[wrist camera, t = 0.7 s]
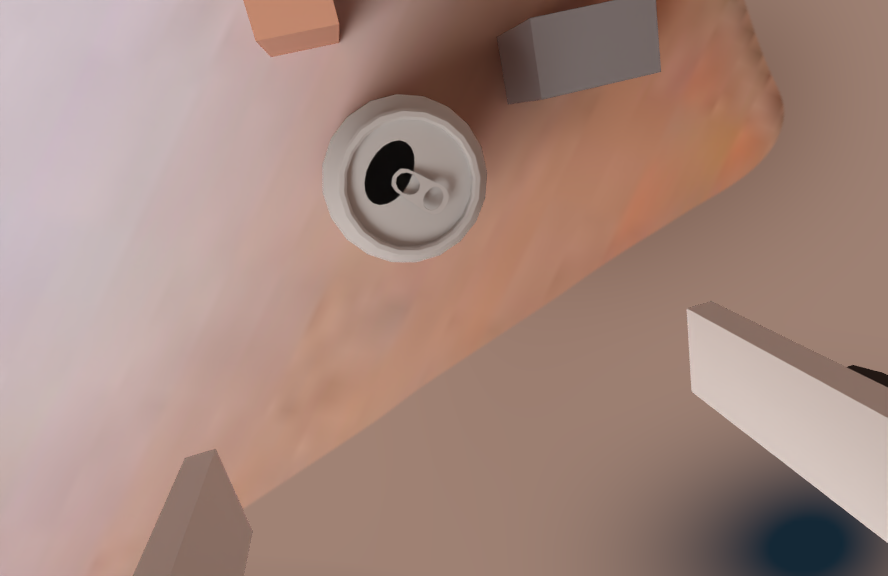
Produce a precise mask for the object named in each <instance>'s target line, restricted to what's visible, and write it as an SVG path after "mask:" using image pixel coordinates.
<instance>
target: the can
mask: <svg viewBox="0 0 888 576" xmlns="http://www.w3.org/2000/svg"><path fill="white" fill-rule="evenodd" d="M486 180H487V170H486V166H485V161H484V157H483V152H482V148H481V146H480V144H479V142H478V141H477V139H476V137H475V135H474V134H473V132H472V130H471V129H470V127H469V125H468V124H467V123H466V122H465V121H464V120H462V119H461V118H460V117H459V116H458V115H457V114H456V113H455V112H454V111H452V110H451V109H450V108H449V107H448V106H445V105H443V104H441V103H438V102H436V101H434V100H431V99H429V98H427V97H424V96H414V95H401V94H395V95H392V96H388V97H384V98H380V99H377V100H373V101H370V102H368V103H367V104H365V105H364V106H363V107H361V108H360V109H358V110H357V111H355V112H354V113H352V114H351V115H349V116H348V117H347V118H346V119H345V120H344V122H343V123H342V124H341V126H340V127H339V128H338V130H337V131H336V132H335V134H334V135H333V137H332V138H331V140H330V144H329V147H328V150H327V153H326V156H325V159H324V162H323V195H324V198H325V201H326V204H327V207H328V210H329V213H330V216H331V218H332V220H333V221H334V222H335V224H336V225H337V226H338V228H339V229H340V230H341V232H342V233H343V235H344V236H345V237H346V239H347V240H349V241H350V242H352V243H353V244H354V245H356V246H357V247H358V248H360V249H361V250H363V251H364V252H365V253H367V254H369V255H372V256H375V257H378V258H381V259H384V260H387V261H390V262H419V261H422V260H425V259H429V258H432V257H435V256H439V255H441V254H442V253H444V252H445V251H447V250H448V249H450V248H451V247H452V246H454V245H455V244H457V243H458V242H460V241H461V240H462V238H463V237H464V236H465V235H466V233H467V232H468V231H469V230H470V228H471V227H472V226H473V225H474V223H475V222H476V220H477V217H478V215H479V212H480V210H481V207H482V205H483V202H484V200H485V193H486Z"/></svg>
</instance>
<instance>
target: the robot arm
mask: <svg viewBox="0 0 888 576" xmlns="http://www.w3.org/2000/svg"><path fill="white" fill-rule="evenodd" d="M687 321H688V338H689V355H690V371H691V388H692V392H693V393H694V394H696V395H697V396H698V397H699V398H701V399H702V400H704V401H705V402H706V403H707V404H708V405H710V406H711V407H712V408H714V409H715V410H716V411H718V412H719V413H720V414H722V415H723V416H724V417H725V418H727V419H728V420H729V421H730V422H732V423H733V424H734V425H736V426H737V427H738V428H740V429H741V430H742V431H743V432H745V433H746V434H747V435H749V436H750V437H751V438H753V439H754V440H755V441H756V442H758V443H759V444H760V445H762V446H763V447H764V448H765V449H767V450H768V451H769V452H771V453H772V454H773V455H775V456H776V457H777V458H778V459H780V460H781V461H782V462H784V463H785V464H786V465H788V466H789V467H790V468H791V469H793V470H794V471H795V472H797V473H798V474H799V475H800V476H802V477H803V478H804V479H806V480H807V481H808V482H810V483H811V484H812V485H813V486H815V487H816V488H817V489H819V490H820V491H821V492H823V493H824V494H825V495H826V496H828V497H829V498H830V499H832V500H833V501H834V502H835V503H837V504H838V505H839V506H841V507H842V508H843V509H845V510H846V511H847V512H848V513H850V514H851V515H852V516H854V517H855V518H856V519H858V520H859V521H860V522H862V523H863V524H864V525H865V526H867V527H868V528H869V529H870V530H872V531H873V532H875V533H876V534H877V535H878V536H880V537H881V538H882V539H884V540H885V541H886V542H887V543H888V375H886V374H884V373H882V372H878V371H873V370H870V369H866V368H862V367H858V366H854V365H852V366H848V367H845V366H843V365H841V364H839V363H837V362H835V361H833V360H831V359H829V358H826V357H824V356H822V355H820V354H818V353H816V352H814V351H812V350H810V349H808V348H806V347H804V346H802V345H800V344H798V343H796V342H793V341H792V340H790V339H788V338H785V337H783V336H782V335H780V334H777V333H775V332H773V331H771V330H769V329H767V328H765V327H763V326H761V325H759V324H757V323H755V322H753V321H751V320H749V319H747V318H745V317H742V316H741V315H739V314H737V313H735V312H733V311H731V310H728V309H727V308H724V307H722V306H720V305H718V304H716V303H714V302H712V301H710V302H707V303H703V304H700V305H697V306H693V307H690V308H687ZM252 533H253V531H252V528H251V526H250V524H249V522H248V520H247V517H246V515H245V513H244V511H243V508H242V506H241V504H240V502H239V500H238V497H237V495H236V493H235V491H234V488H233V486H232V484H231V482H230V480H229V477H228V475H227V473H226V471H225V468H224V466H223V464H222V462H221V459H220V457H219V455H218V453H217V451H216V449H213V450H210V451H207V452H203V453H200V454H197V455H193V456H190V457H187V458H185V459H184V461H183V464H182V466H181V468H180V470H179V473H178V475H177V477H176V479H175V482H174V484H173V486H172V488H171V491H170V493H169V495H168V498H167V500H166V502H165V504H164V507H163V509H162V511H161V513H160V516H159V518H158V520H157V522H156V525H155V527H154V529H153V531H152V534H151V536H150V538H149V541H148V543H147V545H146V547H145V550H144V552H143V554H142V556H141V559H140V561H139V563H138V565H137V568H136V570H135V572H134V575H133V576H244V572H245V568H246V562H247V558H248V552H249V548H250V543H251V537H252Z"/></svg>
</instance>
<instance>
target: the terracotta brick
mask: <svg viewBox="0 0 888 576" xmlns="http://www.w3.org/2000/svg"><path fill="white" fill-rule="evenodd" d="M243 1H244V4H245V7H246V10H247V14H248V17H249V20H250V24H251V27H252V30H253V33H254V37H255V40H256V42H257V43H258V44H259V45H260V46H261V47H262V48H263V49H264V50H265V51H266V52H267V53H268V54H269V55H270V57H274V56H279V55H283V54H288V53H293V52H298V51H302V50H307V49H312V48H317V47H321V46H326V45H331V44H336V43H339V21H338V17H337V14H336V10H335V6H334V2H333V0H243Z"/></svg>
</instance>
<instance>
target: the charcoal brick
mask: <svg viewBox="0 0 888 576" xmlns="http://www.w3.org/2000/svg"><path fill="white" fill-rule="evenodd" d="M497 41H498V47H499V53H500V59H501V65H502V71H503V77H504V83H505V89H506V95H507V102H508V104H514V103H521V102H528V101H536V100H542V99H547V98H551V97H555V96H560V95H564V94H568V93H572V92H577V91H581V90H585V89H590V88H594V87H598V86H602V85H607V84H611V83H615V82H620V81H624V80H628V79H632V78H637V77H641V76H645V75H650V74H654V73H658V72H661V65H660V52H659V38H658V24H657V10H656V0H613V1H608V2H604V3H599V4H594V5H590V6H585V7H580V8H576V9H571V10H566V11H562V12H557V13H552V14H547V15H543V16H538V17H533V18H530V19H528V20H526V21H524V22H523V23H521V24H519V25H517V26H516V27H514V28H512V29H510V30H509V31H507V32H505V33H503V34H502V35H500V36H498V37H497Z"/></svg>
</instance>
